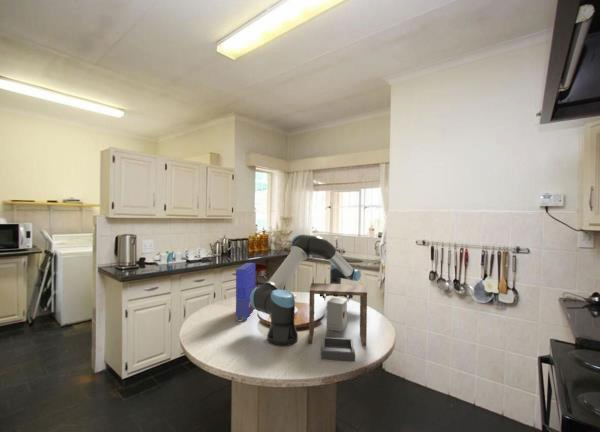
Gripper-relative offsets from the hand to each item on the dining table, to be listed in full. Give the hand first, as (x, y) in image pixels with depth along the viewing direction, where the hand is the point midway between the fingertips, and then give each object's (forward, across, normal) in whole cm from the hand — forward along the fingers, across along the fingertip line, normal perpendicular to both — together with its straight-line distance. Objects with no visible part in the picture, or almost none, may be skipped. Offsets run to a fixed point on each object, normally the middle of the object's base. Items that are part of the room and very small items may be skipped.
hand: (336, 298), depth 167 cm
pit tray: (+40, 0, -13) cm, 42 cm away
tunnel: (+25, 0, -12) cm, 28 cm away
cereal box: (-1, +55, -13) cm, 57 cm away
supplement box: (+12, 0, -13) cm, 17 cm away
